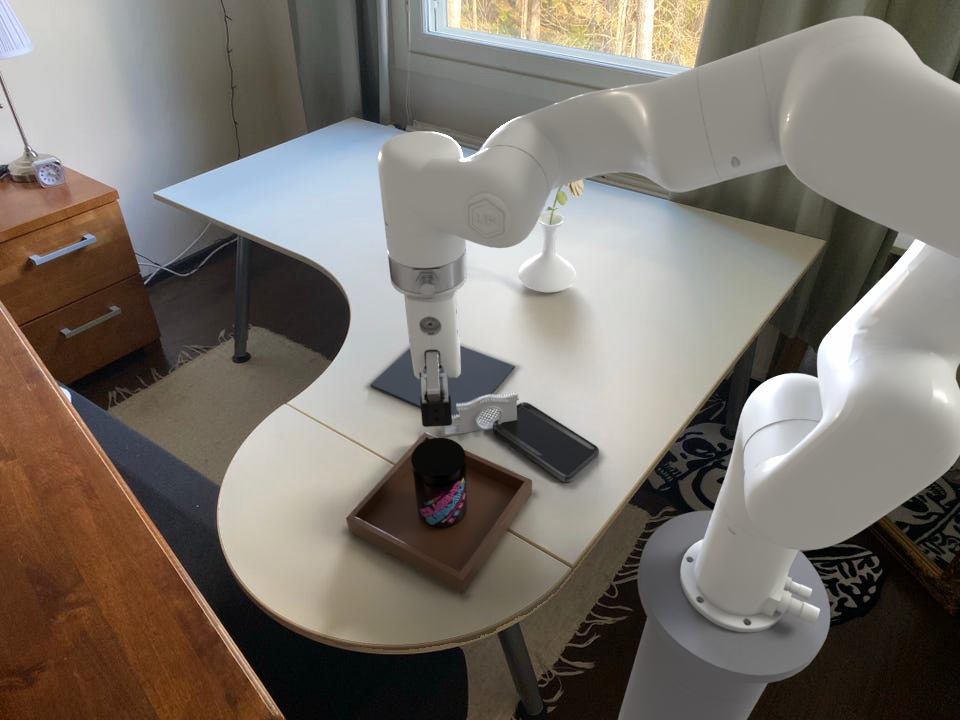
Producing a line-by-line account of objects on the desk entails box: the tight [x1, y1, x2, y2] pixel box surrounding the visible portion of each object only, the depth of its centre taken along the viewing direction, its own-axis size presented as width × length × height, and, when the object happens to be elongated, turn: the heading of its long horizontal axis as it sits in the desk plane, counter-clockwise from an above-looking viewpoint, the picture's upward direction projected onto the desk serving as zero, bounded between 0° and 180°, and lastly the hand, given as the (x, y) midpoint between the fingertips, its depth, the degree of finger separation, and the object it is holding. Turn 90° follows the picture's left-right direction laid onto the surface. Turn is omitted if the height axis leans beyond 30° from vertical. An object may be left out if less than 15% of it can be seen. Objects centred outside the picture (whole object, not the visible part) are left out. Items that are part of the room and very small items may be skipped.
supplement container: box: [411, 437, 467, 529], centre depth 85 cm, size 7×7×10 cm
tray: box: [345, 431, 533, 595], centre depth 88 cm, size 18×18×3 cm
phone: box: [492, 401, 600, 483], centre depth 98 cm, size 8×1×15 cm
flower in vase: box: [517, 179, 585, 293], centre depth 124 cm, size 13×11×25 cm
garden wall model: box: [440, 391, 520, 438], centre depth 99 cm, size 12×2×6 cm, turn 103°
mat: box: [370, 345, 516, 417], centre depth 110 cm, size 18×16×1 cm
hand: (436, 393), depth 76 cm, fingers open, 9 cm apart
